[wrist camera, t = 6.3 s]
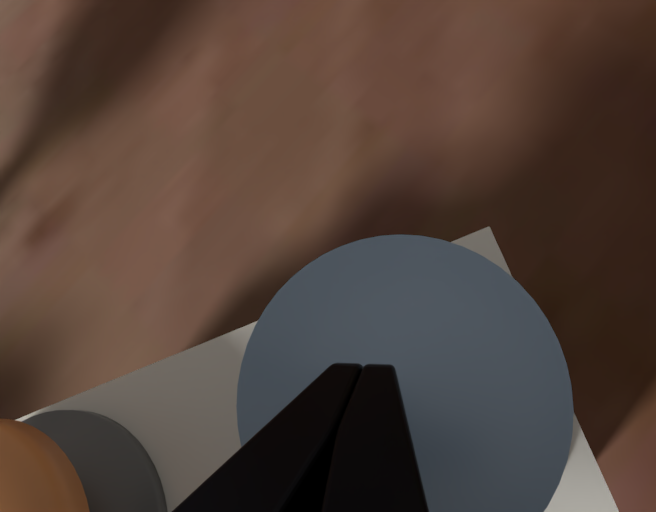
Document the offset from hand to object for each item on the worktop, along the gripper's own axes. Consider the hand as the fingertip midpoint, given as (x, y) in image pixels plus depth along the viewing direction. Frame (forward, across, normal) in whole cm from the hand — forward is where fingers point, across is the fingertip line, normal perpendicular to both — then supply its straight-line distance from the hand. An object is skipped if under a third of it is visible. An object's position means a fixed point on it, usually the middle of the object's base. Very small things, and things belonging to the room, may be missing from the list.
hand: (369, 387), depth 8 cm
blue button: (+3, 0, +3) cm, 4 cm away
